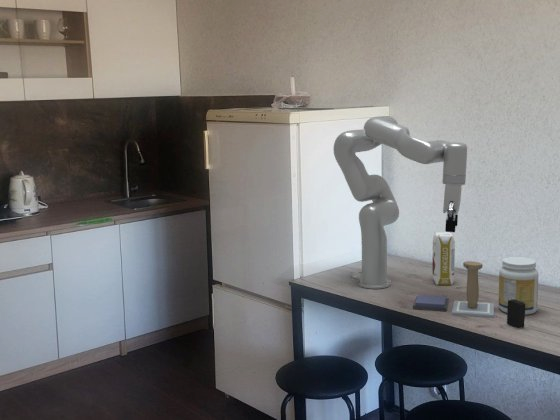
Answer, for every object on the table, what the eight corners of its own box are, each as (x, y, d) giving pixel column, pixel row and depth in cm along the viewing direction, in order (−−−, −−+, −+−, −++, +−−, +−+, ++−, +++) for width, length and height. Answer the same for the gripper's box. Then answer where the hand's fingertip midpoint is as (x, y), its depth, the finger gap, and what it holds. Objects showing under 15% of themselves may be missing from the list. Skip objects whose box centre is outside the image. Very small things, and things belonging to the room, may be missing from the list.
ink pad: (412, 309, 227) (412, 303, 226) (416, 299, 237) (416, 293, 237) (446, 311, 223) (446, 305, 223) (448, 301, 234) (448, 295, 233)
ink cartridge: (524, 327, 206) (525, 302, 205) (519, 329, 205) (520, 304, 204) (511, 322, 211) (513, 298, 209) (506, 324, 210) (507, 299, 208)
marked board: (452, 314, 220) (452, 311, 220) (454, 302, 232) (454, 300, 232) (493, 317, 216) (493, 314, 216) (493, 305, 228) (493, 302, 228)
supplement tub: (506, 302, 231) (507, 254, 228) (542, 308, 224) (544, 259, 221) (492, 311, 222) (493, 261, 219) (529, 318, 214) (531, 267, 211)
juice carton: (451, 279, 261) (452, 231, 257) (454, 285, 252) (455, 236, 249) (431, 279, 261) (432, 231, 258) (434, 285, 253) (435, 236, 250)
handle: (474, 310, 220) (474, 266, 218) (460, 306, 226) (460, 262, 224) (484, 308, 222) (485, 264, 220) (471, 303, 228) (471, 260, 226)
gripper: (444, 175, 236) (442, 222, 240) (440, 182, 220) (437, 233, 224) (467, 176, 234) (464, 224, 237) (463, 183, 218) (460, 235, 221)
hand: (451, 228), depth 231 cm, fingers open, 9 cm apart
